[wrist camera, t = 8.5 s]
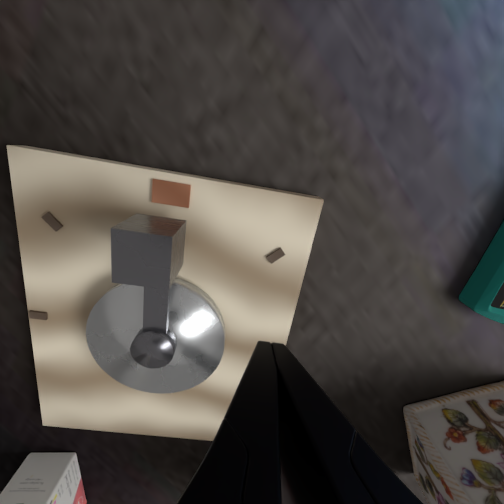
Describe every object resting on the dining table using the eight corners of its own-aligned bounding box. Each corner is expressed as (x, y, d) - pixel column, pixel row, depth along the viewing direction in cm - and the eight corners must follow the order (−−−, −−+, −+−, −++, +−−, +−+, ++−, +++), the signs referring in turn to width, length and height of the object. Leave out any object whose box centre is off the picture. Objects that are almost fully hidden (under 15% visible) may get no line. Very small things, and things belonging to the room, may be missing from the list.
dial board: (258, 430, 27) (259, 447, 26) (53, 410, 26) (41, 427, 24) (318, 196, 19) (324, 200, 18) (25, 145, 18) (3, 144, 16)
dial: (217, 387, 23) (211, 442, 19) (97, 375, 22) (60, 430, 18) (242, 223, 18) (241, 246, 14) (88, 201, 17) (35, 217, 13)
